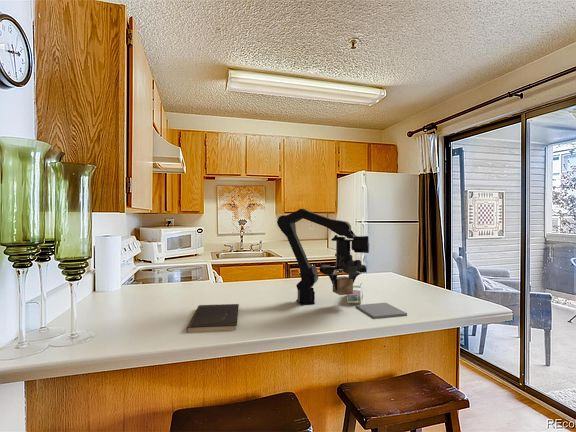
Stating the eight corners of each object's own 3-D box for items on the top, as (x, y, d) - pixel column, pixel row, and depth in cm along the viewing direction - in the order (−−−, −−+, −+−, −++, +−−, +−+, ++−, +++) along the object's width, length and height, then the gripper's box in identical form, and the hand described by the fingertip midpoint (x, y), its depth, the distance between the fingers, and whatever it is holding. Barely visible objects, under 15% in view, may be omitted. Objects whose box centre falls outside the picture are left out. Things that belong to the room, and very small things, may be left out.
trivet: (374, 318, 112) (374, 316, 112) (355, 307, 125) (355, 305, 125) (407, 315, 115) (407, 313, 115) (385, 304, 129) (385, 302, 129)
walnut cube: (340, 295, 122) (340, 280, 122) (332, 291, 128) (332, 277, 127) (352, 293, 124) (353, 279, 124) (345, 290, 130) (345, 276, 130)
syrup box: (350, 294, 144) (347, 304, 130) (349, 282, 144) (346, 290, 130) (363, 295, 142) (361, 304, 128) (362, 282, 142) (360, 290, 128)
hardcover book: (238, 309, 123) (238, 303, 123) (236, 331, 100) (236, 324, 100) (197, 311, 121) (197, 305, 121) (186, 334, 98) (186, 326, 98)
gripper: (329, 255, 115) (329, 296, 115) (374, 253, 120) (373, 293, 120) (319, 251, 126) (318, 289, 126) (360, 250, 131) (359, 286, 131)
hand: (342, 289), depth 126 cm, fingers closed on walnut cube, 6 cm apart
